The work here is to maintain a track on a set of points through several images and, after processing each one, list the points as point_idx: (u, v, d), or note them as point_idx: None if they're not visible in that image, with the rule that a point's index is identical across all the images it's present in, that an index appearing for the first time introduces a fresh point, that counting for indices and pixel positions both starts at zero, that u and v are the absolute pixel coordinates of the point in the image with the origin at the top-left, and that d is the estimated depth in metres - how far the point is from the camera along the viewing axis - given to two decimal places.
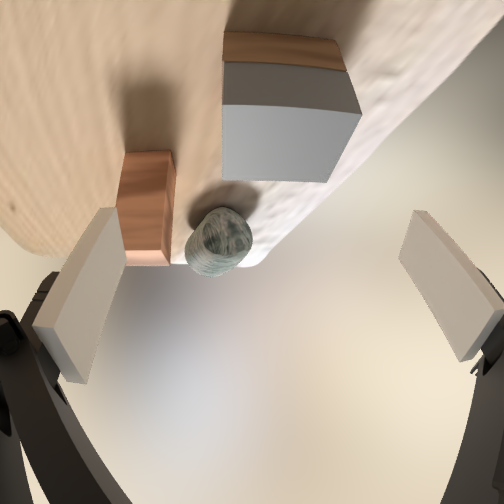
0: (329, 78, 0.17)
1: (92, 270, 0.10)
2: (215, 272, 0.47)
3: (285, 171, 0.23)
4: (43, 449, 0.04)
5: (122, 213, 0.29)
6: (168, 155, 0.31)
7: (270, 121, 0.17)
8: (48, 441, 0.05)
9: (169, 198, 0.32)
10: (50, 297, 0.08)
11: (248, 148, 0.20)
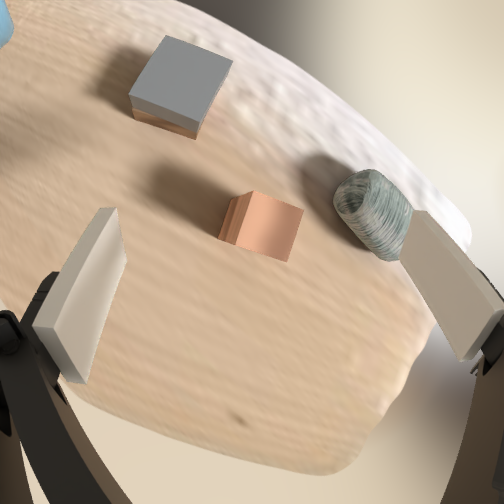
0: None
1: (92, 270, 0.10)
2: (400, 218, 0.35)
3: (206, 80, 0.29)
4: (43, 449, 0.04)
5: (230, 234, 0.31)
6: (231, 199, 0.38)
7: (152, 76, 0.27)
8: (48, 441, 0.05)
9: None
10: (50, 297, 0.08)
11: (171, 93, 0.28)
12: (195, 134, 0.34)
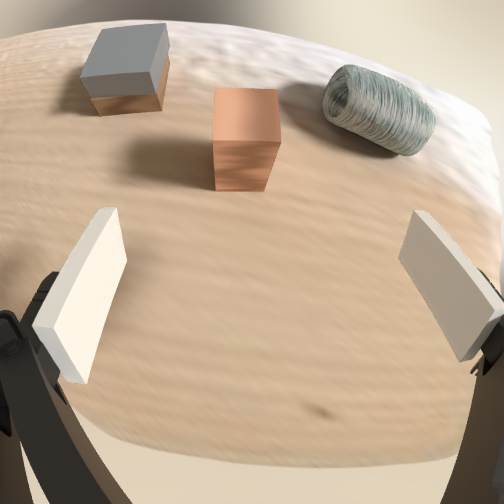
0: None
1: (92, 270, 0.10)
2: (395, 91, 0.28)
3: (146, 43, 0.27)
4: (43, 449, 0.04)
5: None
6: None
7: (97, 58, 0.26)
8: (48, 441, 0.05)
9: None
10: (50, 297, 0.08)
11: (117, 62, 0.26)
12: (157, 100, 0.32)
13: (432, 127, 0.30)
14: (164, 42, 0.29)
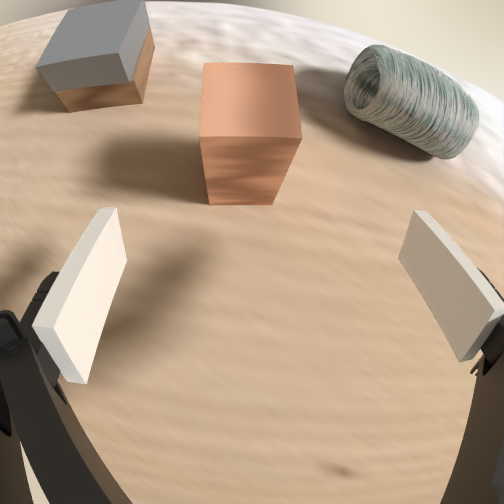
0: None
1: (92, 270, 0.10)
2: (436, 78, 0.20)
3: (118, 20, 0.20)
4: (43, 449, 0.04)
5: None
6: None
7: (59, 42, 0.19)
8: (48, 441, 0.05)
9: None
10: (50, 297, 0.08)
11: (80, 45, 0.19)
12: (136, 90, 0.24)
13: (476, 125, 0.22)
14: (141, 20, 0.22)
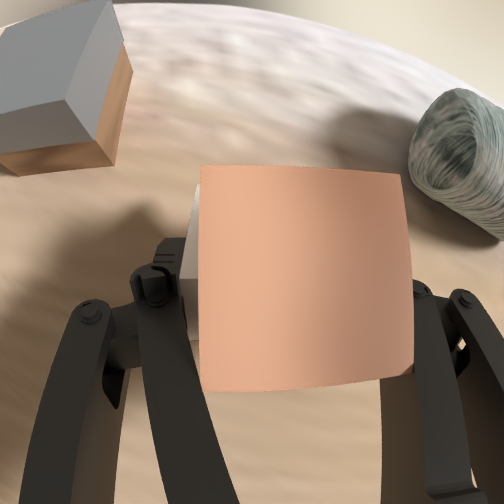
0: None
1: None
2: None
3: (68, 37, 0.11)
4: (170, 407, 0.06)
5: None
6: None
7: None
8: (179, 400, 0.06)
9: None
10: (188, 254, 0.10)
11: (11, 86, 0.11)
12: (100, 150, 0.16)
13: None
14: (108, 33, 0.13)
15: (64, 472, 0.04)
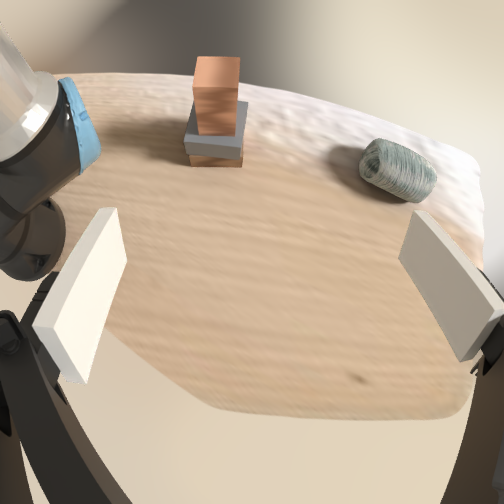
0: None
1: (92, 270, 0.10)
2: (411, 161, 0.44)
3: None
4: (43, 449, 0.04)
5: None
6: None
7: (196, 125, 0.42)
8: (48, 441, 0.05)
9: None
10: (50, 297, 0.08)
11: None
12: (241, 161, 0.48)
13: (434, 184, 0.45)
14: None
15: None
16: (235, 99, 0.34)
